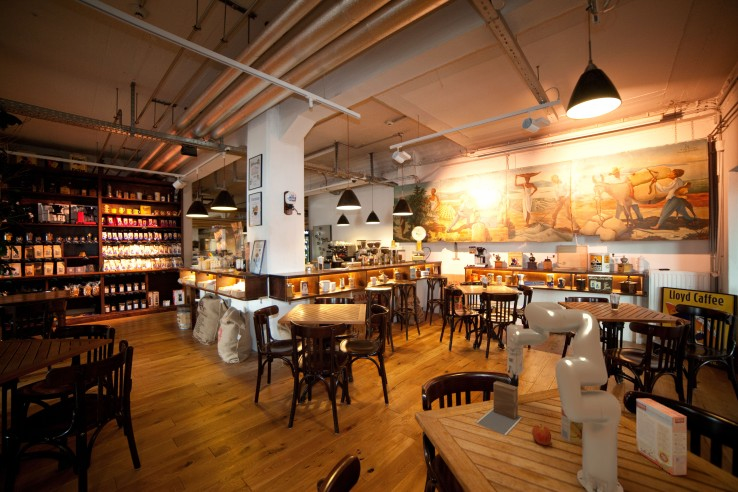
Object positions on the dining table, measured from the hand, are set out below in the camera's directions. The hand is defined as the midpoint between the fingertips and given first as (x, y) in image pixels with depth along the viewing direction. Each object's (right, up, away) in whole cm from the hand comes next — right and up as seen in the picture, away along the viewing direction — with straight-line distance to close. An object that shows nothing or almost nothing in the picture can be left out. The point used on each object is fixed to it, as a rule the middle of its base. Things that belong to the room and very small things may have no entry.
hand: (514, 386), depth 158 cm
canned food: (+12, -10, -26) cm, 31 cm away
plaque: (-8, -10, -9) cm, 16 cm away
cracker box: (+35, -10, -41) cm, 55 cm away
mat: (-13, -10, -14) cm, 22 cm away
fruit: (-3, -10, -30) cm, 32 cm away
